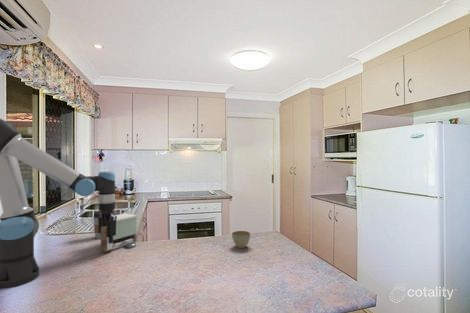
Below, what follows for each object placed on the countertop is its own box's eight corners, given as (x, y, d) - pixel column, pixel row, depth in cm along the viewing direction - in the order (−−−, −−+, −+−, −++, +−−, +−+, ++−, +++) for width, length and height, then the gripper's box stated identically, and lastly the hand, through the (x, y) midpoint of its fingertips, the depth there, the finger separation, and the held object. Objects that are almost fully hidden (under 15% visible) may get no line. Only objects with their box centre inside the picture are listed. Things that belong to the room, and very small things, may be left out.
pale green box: (113, 248, 138) (113, 220, 137) (102, 245, 143) (102, 217, 143) (136, 241, 149) (136, 215, 149) (125, 238, 155) (125, 213, 155)
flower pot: (250, 243, 145) (250, 230, 145) (250, 250, 135) (250, 236, 135) (232, 243, 146) (232, 230, 146) (230, 249, 136) (230, 235, 136)
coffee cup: (104, 239, 153) (104, 213, 153) (90, 239, 153) (90, 213, 153) (111, 235, 161) (111, 210, 161) (98, 235, 161) (98, 210, 161)
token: (129, 249, 137) (129, 246, 137) (123, 247, 140) (123, 244, 140) (137, 246, 141) (137, 243, 141) (132, 244, 144) (132, 241, 144)
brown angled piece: (105, 252, 130) (105, 228, 130) (101, 251, 132) (100, 227, 132) (135, 242, 144) (135, 221, 144) (130, 241, 147) (130, 220, 147)
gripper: (123, 202, 131) (123, 249, 131) (104, 199, 141) (104, 243, 141) (109, 205, 125) (109, 254, 125) (90, 201, 134) (90, 247, 134)
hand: (107, 248), depth 133 cm, fingers closed on brown angled piece, 4 cm apart
